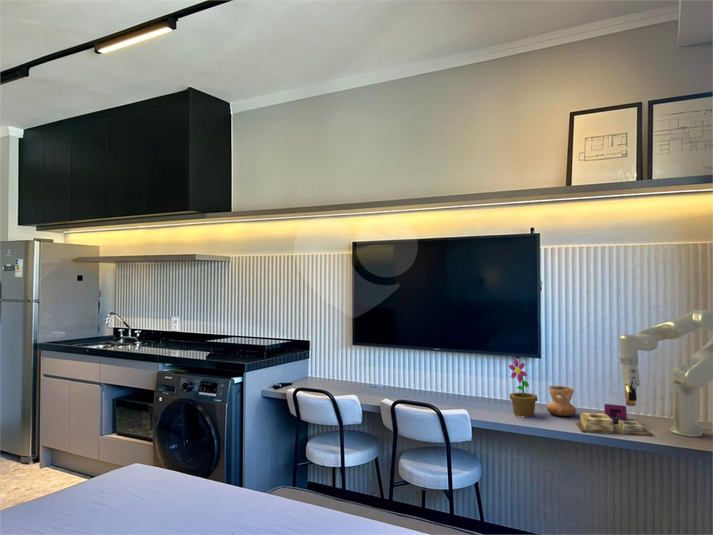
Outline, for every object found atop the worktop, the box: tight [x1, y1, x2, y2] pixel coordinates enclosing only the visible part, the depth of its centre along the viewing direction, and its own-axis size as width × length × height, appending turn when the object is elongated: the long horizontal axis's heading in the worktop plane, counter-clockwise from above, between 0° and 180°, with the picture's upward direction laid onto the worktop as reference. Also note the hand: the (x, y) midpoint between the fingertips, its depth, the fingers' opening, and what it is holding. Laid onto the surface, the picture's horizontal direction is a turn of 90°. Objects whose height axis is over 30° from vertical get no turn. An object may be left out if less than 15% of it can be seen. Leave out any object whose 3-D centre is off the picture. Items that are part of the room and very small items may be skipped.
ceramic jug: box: [546, 385, 577, 417], centre depth 263 cm, size 18×14×14 cm
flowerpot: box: [508, 358, 538, 418], centre depth 262 cm, size 14×14×30 cm
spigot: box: [625, 385, 637, 407], centre depth 233 cm, size 4×4×9 cm
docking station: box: [574, 412, 653, 437], centre depth 234 cm, size 30×14×6 cm, turn 78°
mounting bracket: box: [604, 403, 628, 421], centre depth 249 cm, size 9×8×18 cm
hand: (630, 399), depth 233 cm, fingers closed on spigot, 4 cm apart
